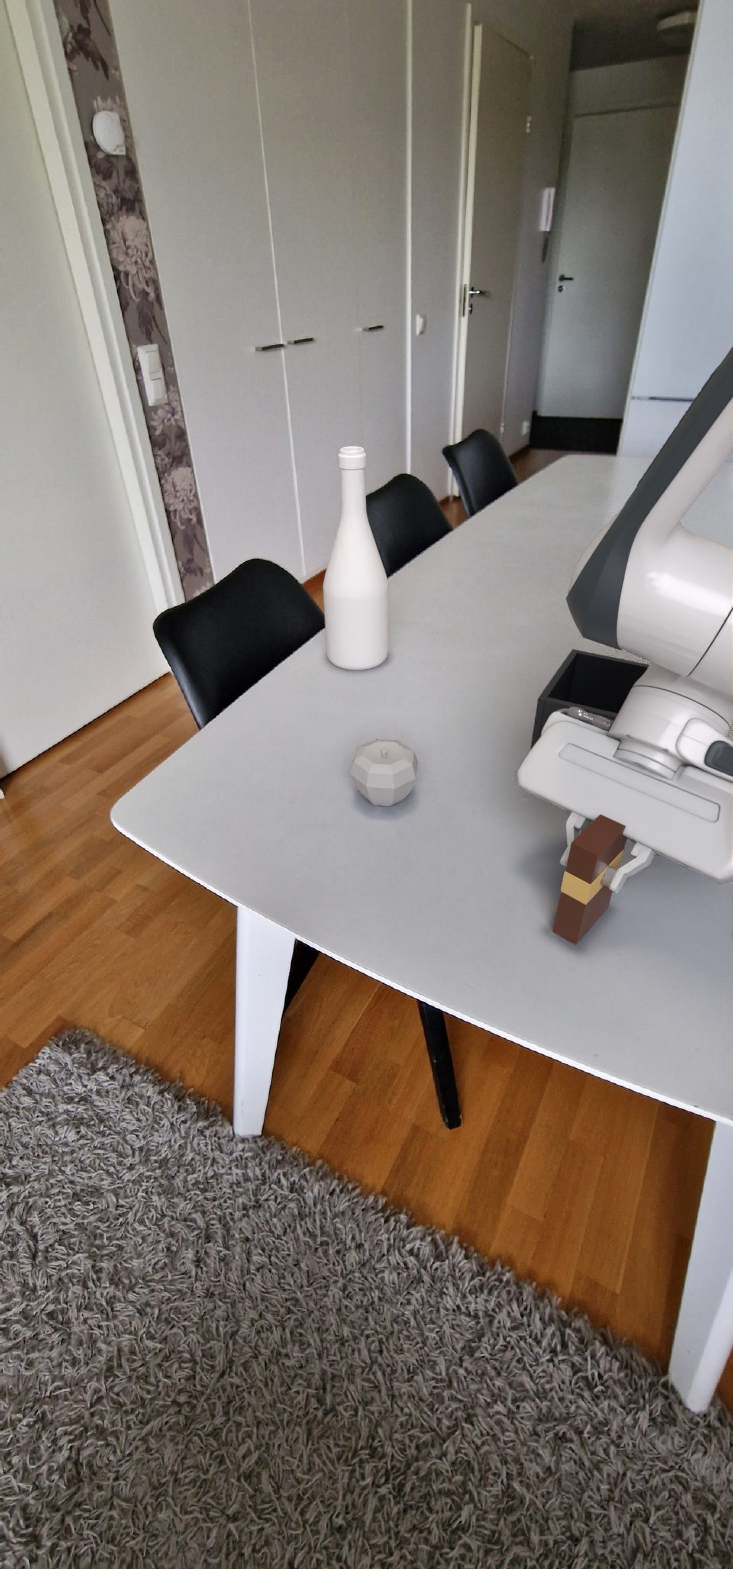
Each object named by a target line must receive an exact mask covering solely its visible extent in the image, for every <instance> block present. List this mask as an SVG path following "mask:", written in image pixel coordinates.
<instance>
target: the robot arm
mask: <svg viewBox="0 0 733 1569" xmlns="http://www.w3.org/2000/svg"><path fill="white" fill-rule="evenodd" d="M732 455H733V346H732V347H731V348H730V349H729V350H728V352H727V354H726V355H725V357H724V358H723V359H722V361H721V362H720V364H718V366H716V368H715V369H714V370H713V372H712V373H711V374H710V375H709V378H708V379H707V380H706V381H705V382H704V383H703V385H702V387H701V389H700V390H699V392H698V393H697V394H696V396H695V397H694V399H693V401H692V402H691V403H690V405H689V407H688V408H687V410H685V412H684V414H683V415H682V416H681V417H680V420H679V421H678V424H677V425H676V426H675V427H674V428H673V430H672V432H671V433H670V434H669V436H668V437H667V439H666V441H665V442H664V443H663V444H662V447H661V448H660V449H659V451H658V453H657V454H655V457H654V458H653V460H652V461H651V463H650V464H649V465H648V467H647V468H646V471H644V473H643V474H642V476H641V478H640V479H639V480H638V483H637V484H636V486H635V488H634V490H633V491H632V493H631V494H630V496H629V497H628V498H627V500H626V501H625V503H624V505H623V506H622V507H621V508H620V510H619V511H618V512H617V513H615V515H614V516H613V517H612V518H611V519H610V520H609V521H608V522H607V523H606V524H605V525H604V526H603V527H602V529H600V530H599V531H598V533H597V534H596V535H595V536H594V537H593V539H592V540H591V541H590V542H589V544H588V545H587V546H586V548H585V549H584V551H583V552H582V554H581V555H580V557H579V559H578V561H577V563H576V565H575V567H574V568H573V571H572V574H571V576H570V579H569V583H568V588H567V595H566V597H565V601H566V605H567V607H568V610H569V613H570V615H571V618H572V619H573V622H574V624H575V626H576V629H577V630H578V631H579V633H580V635H581V637H582V638H583V639H586V640H589V641H592V642H594V643H598V644H601V645H603V646H606V647H609V648H612V649H616V650H618V651H622V650H623V651H626V652H627V653H630V654H632V655H634V656H637V657H638V658H641V659H644V660H645V661H647V662H650V663H649V664H648V665H649V667H648V669H647V670H646V672H645V673H644V674H643V675H642V677H641V678H639V679H638V680H637V682H636V683H635V684H634V685H633V687H632V689H631V691H630V692H629V694H628V696H627V698H626V700H625V702H624V704H623V706H622V707H621V709H620V711H619V713H618V715H617V717H616V719H615V720H614V721H613V720H610V719H607V718H605V717H602V716H599V715H595V714H591V713H588V712H585V710H583V709H581V708H578V707H570V708H569V709H560V710H557V711H555V712H553V713H552V714H551V715H550V716H549V718H548V720H547V722H546V724H545V725H544V727H543V729H542V733H541V737H540V738H539V740H538V741H537V742H536V744H535V745H534V746H533V748H532V749H531V748H530V749H531V751H530V750H529V752H528V753H527V755H526V757H525V758H524V759H523V762H522V763H521V765H520V766H519V768H518V770H517V772H516V778H517V784H518V786H519V787H520V789H522V790H523V791H524V792H526V793H528V794H530V795H531V796H533V797H536V798H538V799H539V800H542V801H544V802H546V803H548V804H550V805H551V806H554V807H556V808H559V809H561V810H563V811H565V812H568V814H569V813H570V814H569V816H568V818H567V820H566V821H565V834H566V835H565V836H566V845H567V846H566V848H565V850H564V852H563V854H562V856H561V858H560V861H559V864H560V865H561V866H563V867H565V868H566V866H567V861H568V857H569V852H570V847H571V842H572V841H573V840H575V839H576V838H577V837H578V836H579V835H580V833H582V832H583V831H584V830H585V829H586V828H587V827H588V826H589V825H590V824H591V823H592V822H593V821H594V820H595V819H596V818H597V817H598V816H599V815H600V814H601V815H603V816H605V817H608V818H610V819H612V820H614V821H616V822H618V823H621V824H623V825H625V826H626V827H625V830H624V832H623V835H624V836H626V837H627V840H626V841H629V842H631V843H632V844H634V845H633V847H632V850H631V851H630V854H631V856H633V857H634V858H633V859H632V860H629V861H628V862H627V863H625V864H624V865H622V866H620V868H619V869H617V870H616V869H614V868H612V867H610V866H608V868H607V870H606V872H605V876H603V877H602V879H601V881H600V885H602V886H604V887H606V888H607V889H609V890H611V891H612V893H615V894H619V893H620V892H621V890H622V888H623V886H624V885H625V882H626V880H627V879H628V877H632V876H633V875H635V874H637V873H638V872H640V871H642V870H643V869H645V868H647V867H648V866H650V865H651V863H652V861H653V859H654V857H655V856H656V855H657V856H660V857H662V858H665V859H667V860H669V861H671V862H673V863H675V864H676V865H679V866H682V867H684V868H686V869H688V870H689V871H692V872H694V873H697V874H699V875H700V876H703V877H705V878H707V879H709V880H711V881H714V882H716V883H718V884H720V885H724V884H727V883H730V882H732V881H733V741H732V740H731V739H729V738H728V735H729V734H730V731H731V729H732V727H733V548H731V547H729V546H727V545H725V544H721V543H718V542H717V541H714V540H712V539H709V538H706V537H704V536H701V535H698V534H696V533H694V532H692V531H691V530H688V529H687V528H686V527H685V526H684V525H683V523H682V522H681V520H682V518H683V517H684V516H685V515H686V513H687V512H688V511H689V510H690V509H691V508H692V506H693V504H694V503H695V502H696V501H697V500H698V498H699V497H700V496H701V494H702V493H703V492H704V490H705V489H706V488H707V487H708V485H709V484H710V483H711V482H712V480H713V479H714V478H715V476H716V475H717V474H718V472H719V471H720V470H721V469H722V468H723V466H724V465H725V463H726V462H727V461H728V460H729V459H730V457H731V456H732ZM562 713H567V715H568V716H567V715H564V714H562ZM582 721H583V722H582Z"/></svg>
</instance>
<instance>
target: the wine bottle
mask: <svg viewBox="0 0 733 1569" xmlns="http://www.w3.org/2000/svg"><path fill="white" fill-rule="evenodd" d="M337 461H338V468H339V469H340V507H341V508H340V517H339V523H338V528H337V530H336V535H335V538H334V541H333V544H332V549H331V553H330V556H329V559H328V563H327V567H326V569H325V574H324V578H323V584H322V596H323V610H324V612H323V613H324V614H323V615H324V630H325V647H326V655H327V658H328V660H329V662H331V663H332V664H333V665H334V666H336V667H337V668H340V669H343V670H347V671H364V670H365V671H366V670H371V669H373V668H376V667H378V666H380V665H382V663H384V662H385V661H386V660H387V657H388V656H389V580H388V576H387V573H386V570H385V567H384V563H383V562H382V559H381V555H380V552H379V549H378V546H377V544H376V541H375V538H374V533H373V532H372V529H371V525H370V522H369V517H368V514H367V513H368V512H367V497H366V474H365V472H366V471H365V470H366V469H365V468H366V467H367V453H366V452H365V448H364V447H362V446H355V445H352V446H351V445H350V446H344V447H341V448H339V453H338V455H337Z"/></svg>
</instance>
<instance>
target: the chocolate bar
mask: <svg viewBox="0 0 733 1569" xmlns="http://www.w3.org/2000/svg"><path fill="white" fill-rule="evenodd" d="M625 827H626V826H625V825H623V824H621V823H618V822H616V821H614V820H612V819H610V818H608V817H605V816H603V815H601V814H600V815H599V816H598V817H597V818H596V819H595V820H594V821H593V822H592V823H591V824H590V825H589V826H588V827H587V828H586V829H585V830H584V831H583V832H580V833H579V836H578V837H577V838H576V839H575V840H573V841H572V842H571V847H570V852H569V857H568V861H567V866H566V867H565V870H564V872H563V877H562V881H561V887H560V896H559V900H558V904H557V908H556V909H557V910H556V914H555V918H554V924H553V928H552V932H553V933H554V934H556V935H558V936H560V938H561V937H562V938H563V939H565V940H566V941H567V942H569V943H571V944H573V945H575V946H576V945H577V944H578V943H579V942H580V941H581V940H582V939H583V938H584V936H585V935H586V934H587V933H588V932H589V931H590V930H591V928H592V927H594V925H595V924H596V923H597V922H598V921H599V920H600V918H601V917H602V916H603V915H604V914H605V912H606V911H607V910H608V909H609V906H610V901H611V898H612V894H613V891H611V890H609V889H607V888H606V887H604V886H602V885H600V881H601V879H602V877H603V876H605V872H606V870H607V868H608V866H610V867H612V868H614V869H616V870H617V869H619V868H620V867H621V865H622V861H623V856H624V854H625V846H626V844H627V841H628V840H627V837H626V836H624V835H623V832H624V830H625Z"/></svg>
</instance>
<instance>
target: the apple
mask: <svg viewBox="0 0 733 1569" xmlns="http://www.w3.org/2000/svg"><path fill="white" fill-rule="evenodd" d="M418 764H419V761H418V758H417V754H416V752H415V751H414V749H412V748H410V747H408V745H406V744H405V743H403V742H401V741H400V740H398V739H397V740H396V739H383V738H382V739H381V738H380V739H379V738H377V739H374V740H372V741H369V742H367V743H365V744H362V745H360V746H358V747H356V750H355V754H354V757H353V760H352V765H351V768H350V772H349V774H350V777H351V779H352V781H353V783H354V785H355V788H356V789H357V790H358V792H359V793H360V794H361V795H362V796H363V797H364V798H365V799H366V800H367V801H368V802H370V803H371V804H372V805H374V806H378V807H379V806H380V807H392V806H394V805H396V804H398V803H400V802H401V801H403V800H405V799H406V798H407V796H408V795H409V794H410V793H411V792H412V789H413V787H414V784H415V782H416V779H417V772H418V766H419V765H418Z"/></svg>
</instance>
